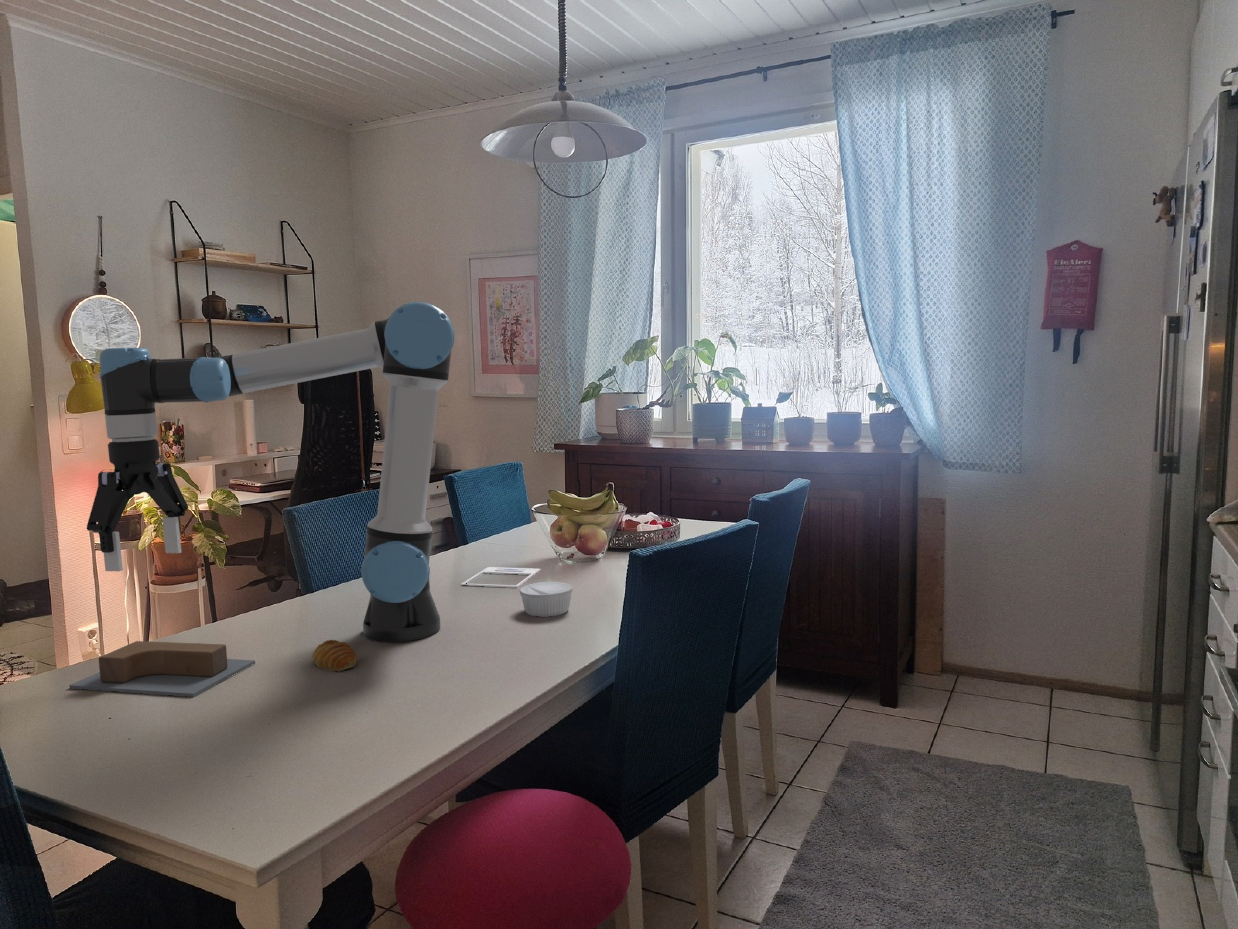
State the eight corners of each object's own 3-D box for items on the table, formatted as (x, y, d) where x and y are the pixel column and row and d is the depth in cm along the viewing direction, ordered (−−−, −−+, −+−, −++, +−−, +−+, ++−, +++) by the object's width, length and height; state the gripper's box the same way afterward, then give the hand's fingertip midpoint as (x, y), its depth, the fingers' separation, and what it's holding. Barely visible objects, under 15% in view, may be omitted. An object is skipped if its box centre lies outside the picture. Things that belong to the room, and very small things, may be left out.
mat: (255, 663, 153) (255, 660, 153) (193, 697, 137) (193, 693, 137) (141, 657, 158) (141, 653, 158) (69, 688, 142) (69, 685, 142)
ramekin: (511, 616, 180) (510, 592, 179) (535, 602, 190) (535, 579, 189) (558, 621, 175) (557, 596, 175) (581, 606, 186) (580, 583, 185)
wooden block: (99, 683, 143) (195, 687, 140) (97, 657, 142) (193, 661, 139) (137, 664, 152) (228, 668, 149) (135, 640, 151) (226, 643, 148)
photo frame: (540, 568, 220) (517, 585, 202) (540, 572, 220) (517, 590, 203) (488, 566, 223) (460, 583, 206) (488, 570, 223) (460, 587, 206)
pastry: (367, 667, 150) (365, 646, 150) (330, 677, 146) (329, 656, 145) (344, 655, 157) (342, 635, 157) (308, 664, 153) (307, 644, 152)
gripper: (167, 433, 156) (178, 545, 159) (51, 446, 132) (66, 579, 134) (202, 432, 155) (212, 546, 157) (91, 446, 130) (106, 579, 133)
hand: (145, 561), depth 146 cm, fingers open, 13 cm apart
